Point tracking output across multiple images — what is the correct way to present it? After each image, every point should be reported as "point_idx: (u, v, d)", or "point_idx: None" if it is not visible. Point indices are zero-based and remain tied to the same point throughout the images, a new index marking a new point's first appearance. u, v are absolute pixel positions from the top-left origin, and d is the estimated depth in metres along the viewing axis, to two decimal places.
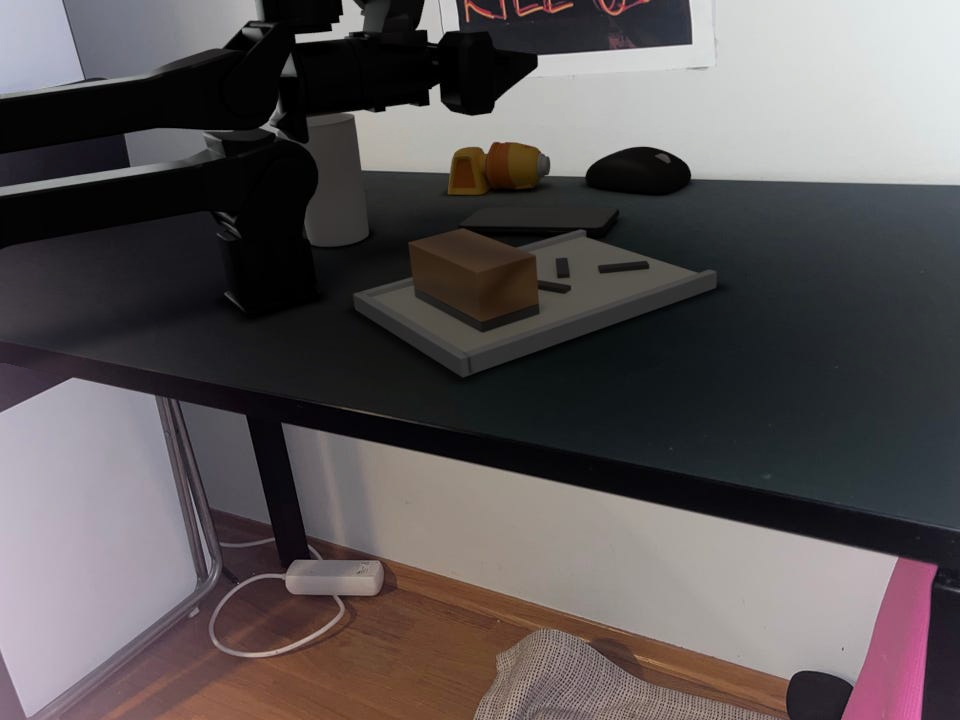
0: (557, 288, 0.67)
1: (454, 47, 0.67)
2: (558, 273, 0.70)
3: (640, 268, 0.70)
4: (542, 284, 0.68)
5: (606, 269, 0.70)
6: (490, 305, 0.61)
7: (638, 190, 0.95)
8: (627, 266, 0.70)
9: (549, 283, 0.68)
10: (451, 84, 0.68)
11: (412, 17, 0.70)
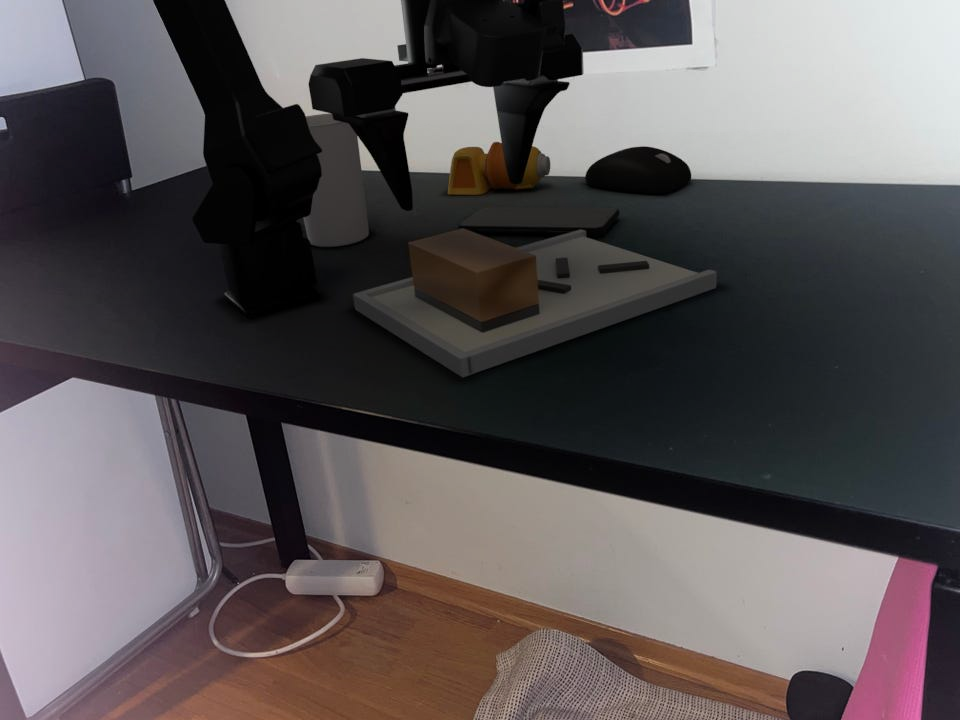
0: (557, 288, 0.67)
1: (351, 66, 0.53)
2: (558, 273, 0.70)
3: (640, 268, 0.70)
4: (542, 284, 0.68)
5: (606, 269, 0.70)
6: (490, 305, 0.61)
7: (638, 190, 0.95)
8: (627, 266, 0.70)
9: (549, 283, 0.68)
10: (344, 63, 0.56)
11: (448, 47, 0.54)
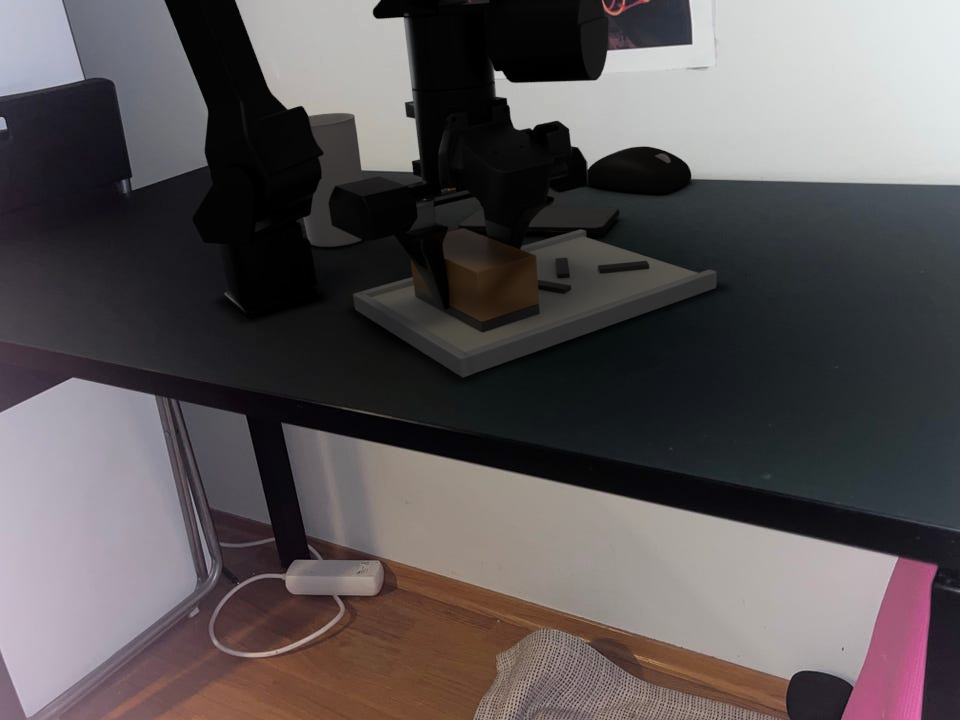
0: (557, 288, 0.67)
1: (369, 194, 0.56)
2: (558, 273, 0.70)
3: (640, 268, 0.70)
4: (542, 284, 0.68)
5: (606, 269, 0.70)
6: (490, 305, 0.61)
7: (638, 190, 0.95)
8: (627, 266, 0.70)
9: (549, 283, 0.68)
10: (362, 185, 0.59)
11: (460, 174, 0.57)
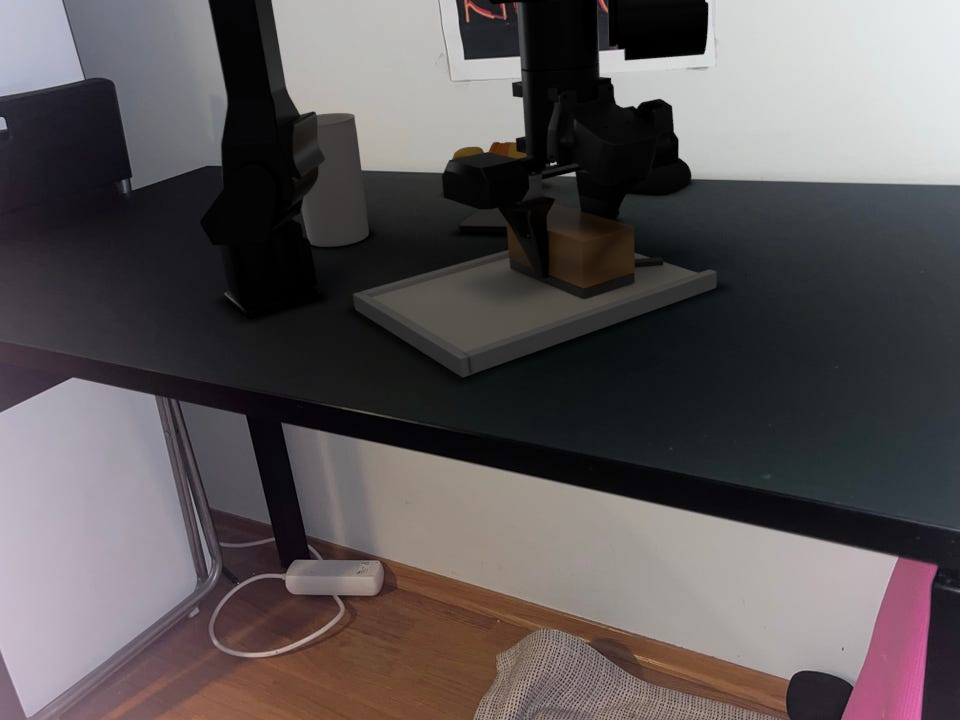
0: None
1: (486, 166, 0.60)
2: None
3: (654, 264, 0.70)
4: None
5: None
6: (592, 273, 0.65)
7: (638, 190, 0.95)
8: (641, 262, 0.70)
9: None
10: (475, 159, 0.63)
11: (570, 148, 0.61)
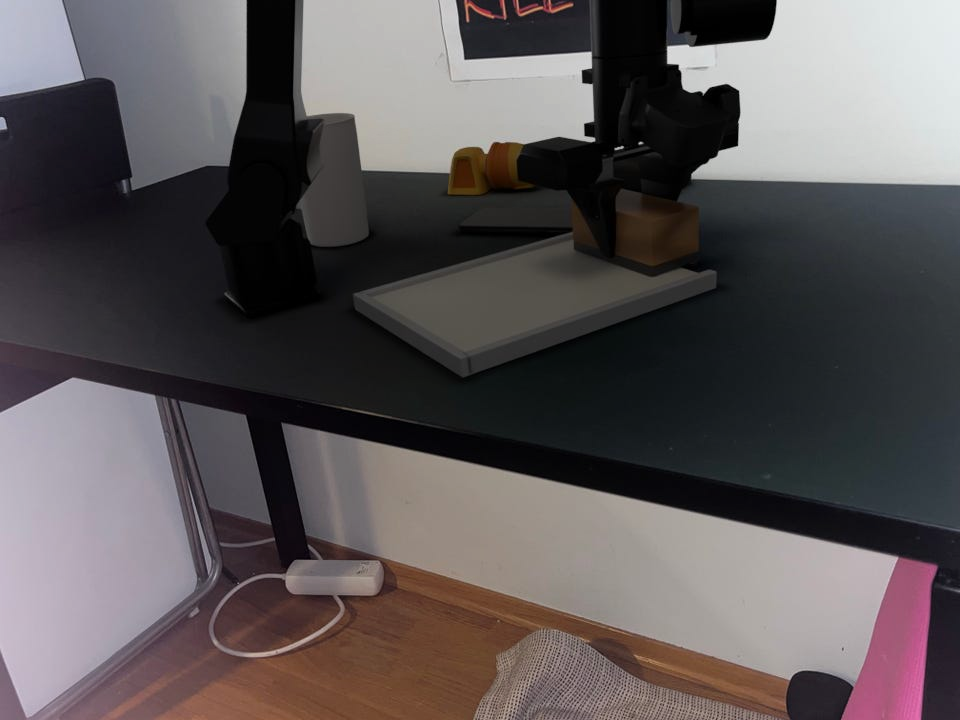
0: None
1: (563, 149, 0.63)
2: None
3: None
4: None
5: None
6: (659, 251, 0.68)
7: (638, 190, 0.95)
8: None
9: None
10: (549, 143, 0.66)
11: (642, 131, 0.64)
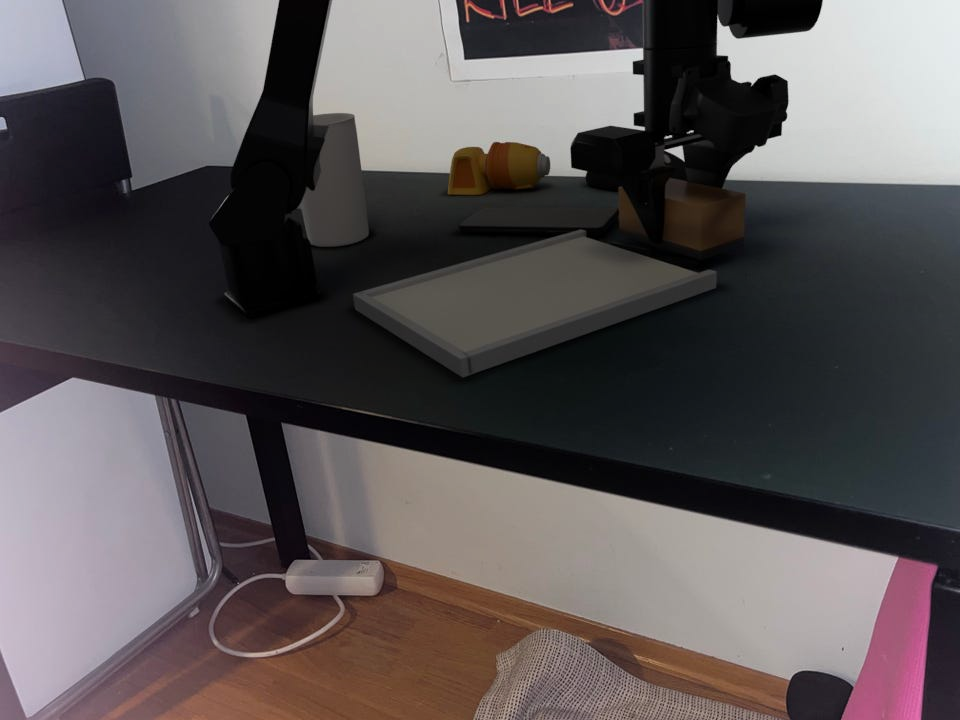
0: None
1: (618, 137, 0.66)
2: (649, 249, 0.75)
3: None
4: None
5: None
6: (708, 236, 0.70)
7: None
8: None
9: None
10: (603, 131, 0.68)
11: (694, 120, 0.67)
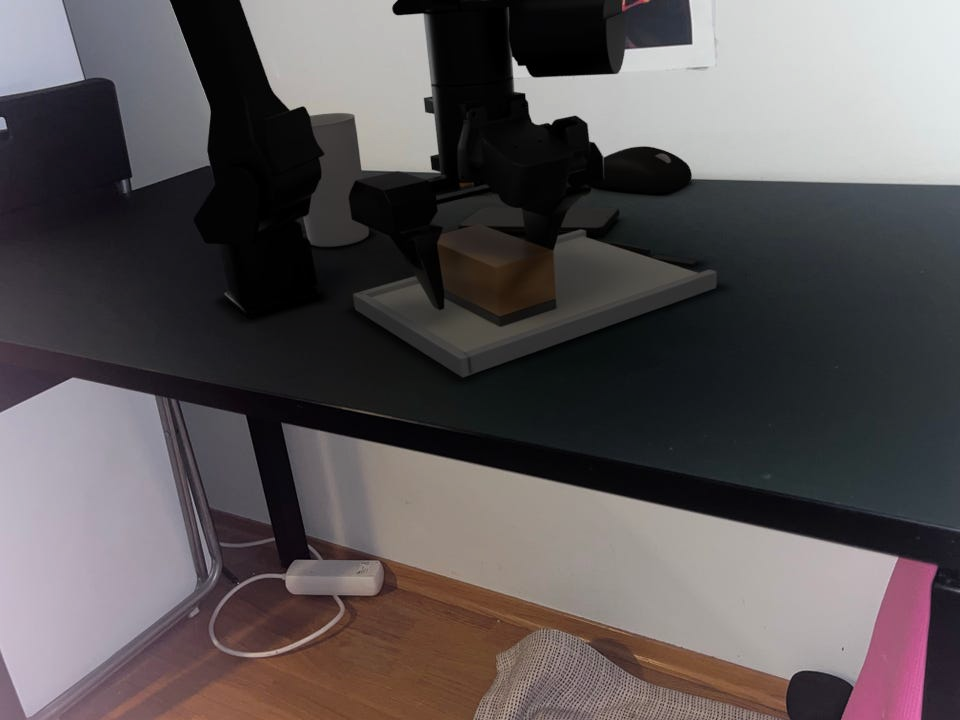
0: None
1: (390, 188, 0.57)
2: (649, 249, 0.75)
3: None
4: None
5: None
6: (508, 300, 0.61)
7: (638, 190, 0.95)
8: None
9: None
10: (382, 179, 0.59)
11: (480, 168, 0.58)
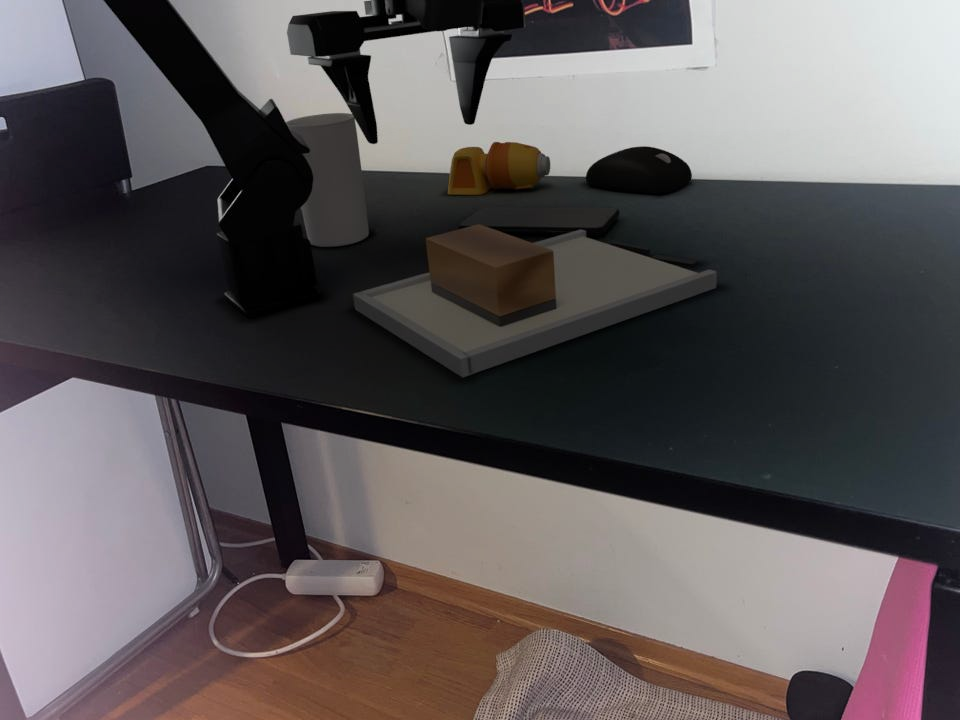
0: None
1: (321, 15, 0.63)
2: (649, 249, 0.75)
3: None
4: None
5: None
6: (508, 300, 0.61)
7: (638, 190, 0.95)
8: None
9: None
10: None
11: None
